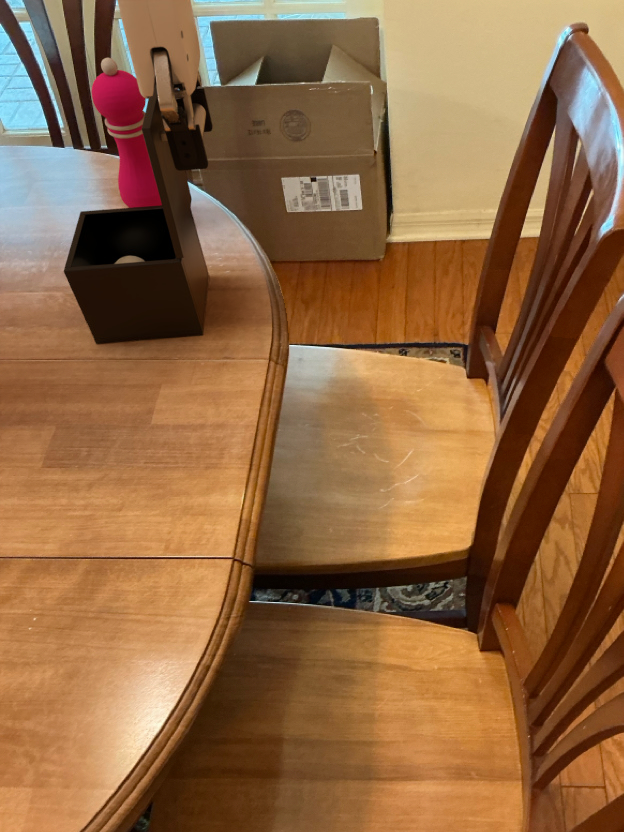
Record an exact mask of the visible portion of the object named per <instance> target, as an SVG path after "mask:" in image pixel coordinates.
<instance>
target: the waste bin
mask: <svg viewBox="0 0 624 832" xmlns="http://www.w3.org/2000/svg"><path fill="white" fill-rule="evenodd" d="M204 255H205V254H204V251H203V248H202V245H201V241H200V237H199V234H198V230H197V226H196V222H195V218H194V215H193V211H192V207H191V208H190V215H189V222H188V230H187V237H186V244H185V252H184V258H176V256H175V252H174V248H173V244H172V241H171V237H170V233H169V229H168V226H167V222H166V218H165V214H164V211H163V207H162V205H159V206H146V207H133V208H129V207H121V208H110V209H95V210H83V211H80V212H79V216H78V219H77V222H76V227H75V229H74V232H73V236H72V240H71V243H70V247H69V251H68V254H67V258H66V261H65V265H64V270H63V273H64V276H65V278H66V280H67V282H68V284H69V287H70V289H71V291H72V294H73V295H74V298H75V300H76V302H77V304H78V307H79V309H80V311H81V313H82V316H83V318H84V320H85V322H86V325H87V327H88V329H89V332H90V333H91V336H92V338H93V340H94V342H95V344H96V345H99V344H113V343H124V342H135V341H137V342H138V341H148V340H160V339H161V340H163V339H173V338H186V337H196V336H197V337H198V336H204V331H205V324H206V323H205V322H206V311H207V302H208V291H209V282H210V274H209V270H208V267H207V262H206V259H205V256H204ZM125 256H136V257H139V258H141V259H143V260H144V262H131V263H119V264H115V263H116V261H117V260H119V259H120V258H122V257H125Z"/></svg>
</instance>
